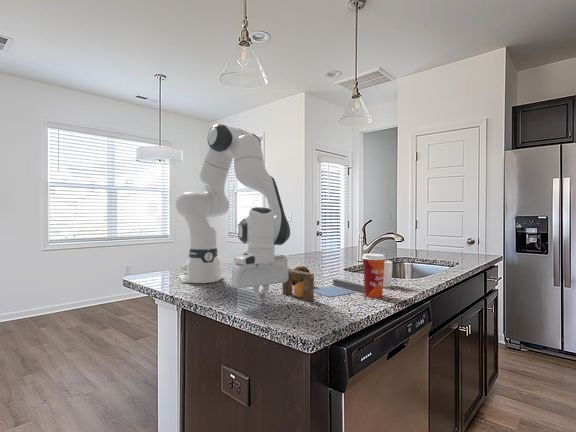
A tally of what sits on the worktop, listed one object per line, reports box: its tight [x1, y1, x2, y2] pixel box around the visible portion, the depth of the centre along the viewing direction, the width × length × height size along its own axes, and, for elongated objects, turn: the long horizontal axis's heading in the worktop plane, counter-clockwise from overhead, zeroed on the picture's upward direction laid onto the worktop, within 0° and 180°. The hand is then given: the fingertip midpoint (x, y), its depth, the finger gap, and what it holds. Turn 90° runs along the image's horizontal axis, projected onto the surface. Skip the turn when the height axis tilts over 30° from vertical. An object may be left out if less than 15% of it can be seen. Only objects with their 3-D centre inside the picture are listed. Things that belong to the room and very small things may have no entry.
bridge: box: [282, 268, 315, 303], centre depth 122 cm, size 3×14×9 cm, turn 35°
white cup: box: [383, 260, 394, 288], centre depth 142 cm, size 8×8×10 cm
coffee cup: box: [362, 253, 386, 299], centre depth 124 cm, size 8×8×15 cm
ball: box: [292, 282, 303, 299], centre depth 122 cm, size 6×6×6 cm
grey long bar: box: [332, 278, 365, 294], centre depth 136 cm, size 18×2×2 cm, turn 35°
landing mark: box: [314, 285, 357, 298], centre depth 131 cm, size 13×13×1 cm
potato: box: [292, 266, 311, 284], centre depth 144 cm, size 8×13×8 cm, turn 13°
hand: (261, 298), depth 113 cm, fingers closed
